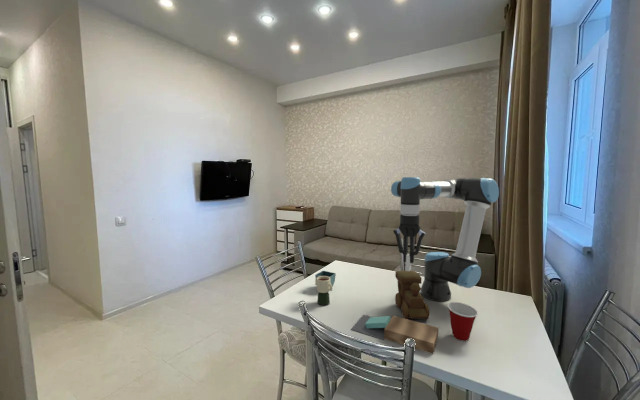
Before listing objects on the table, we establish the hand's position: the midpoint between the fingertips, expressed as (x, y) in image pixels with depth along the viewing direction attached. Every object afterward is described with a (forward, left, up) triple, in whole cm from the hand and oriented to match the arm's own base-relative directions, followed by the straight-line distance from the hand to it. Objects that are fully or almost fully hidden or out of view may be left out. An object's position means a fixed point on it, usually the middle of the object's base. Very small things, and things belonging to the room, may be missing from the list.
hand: (408, 270), depth 114 cm
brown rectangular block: (+1, +9, -24) cm, 26 cm away
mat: (+15, +1, -24) cm, 29 cm away
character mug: (+36, -20, -25) cm, 48 cm away
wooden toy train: (-5, -12, -25) cm, 28 cm away
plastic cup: (-19, +8, -25) cm, 32 cm away
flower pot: (+35, -37, -25) cm, 57 cm away
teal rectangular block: (+13, +2, -23) cm, 26 cm away
